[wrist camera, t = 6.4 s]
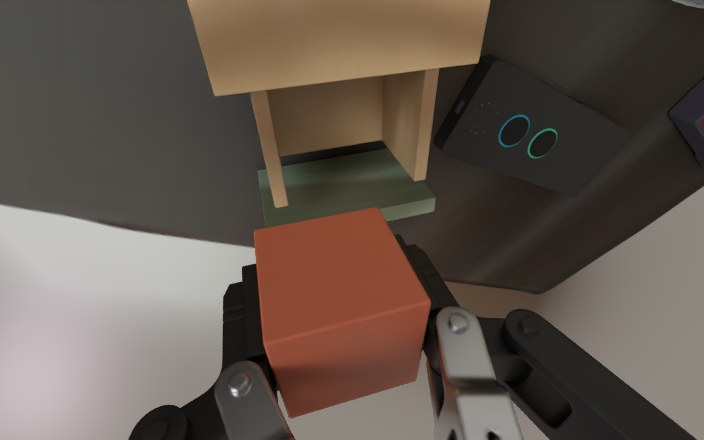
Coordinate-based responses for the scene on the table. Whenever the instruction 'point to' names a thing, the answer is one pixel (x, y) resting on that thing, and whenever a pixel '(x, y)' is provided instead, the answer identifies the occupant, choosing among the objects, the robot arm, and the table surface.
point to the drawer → (342, 130)
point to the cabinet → (332, 39)
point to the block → (338, 309)
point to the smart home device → (528, 130)
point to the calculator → (691, 119)
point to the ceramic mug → (692, 3)
